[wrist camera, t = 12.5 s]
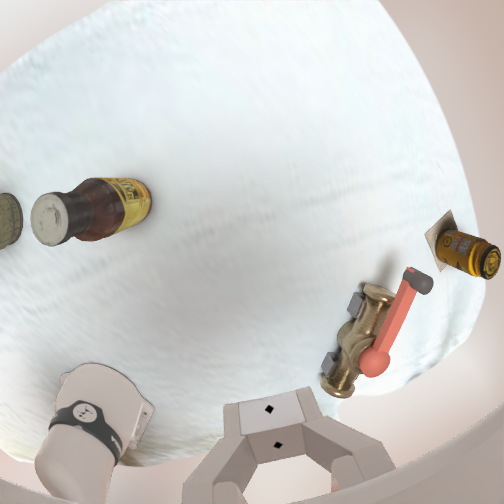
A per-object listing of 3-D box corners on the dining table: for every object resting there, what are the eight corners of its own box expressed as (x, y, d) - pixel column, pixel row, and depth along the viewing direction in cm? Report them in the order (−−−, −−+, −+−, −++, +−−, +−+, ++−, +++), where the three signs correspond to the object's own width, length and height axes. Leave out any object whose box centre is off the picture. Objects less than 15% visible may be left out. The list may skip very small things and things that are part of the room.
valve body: (345, 378, 47) (360, 402, 40) (315, 375, 46) (327, 401, 39) (389, 289, 43) (412, 305, 37) (358, 280, 42) (379, 297, 36)
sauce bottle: (160, 188, 37) (99, 196, 17) (143, 231, 38) (77, 277, 19) (118, 171, 35) (33, 167, 16) (103, 213, 37) (16, 244, 17)
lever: (352, 368, 38) (364, 385, 34) (400, 263, 35) (418, 272, 30) (375, 370, 38) (387, 386, 34) (422, 270, 35) (440, 280, 31)
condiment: (439, 271, 44) (484, 294, 32) (424, 234, 42) (473, 251, 30) (463, 247, 44) (508, 264, 32) (449, 209, 41) (498, 220, 30)
